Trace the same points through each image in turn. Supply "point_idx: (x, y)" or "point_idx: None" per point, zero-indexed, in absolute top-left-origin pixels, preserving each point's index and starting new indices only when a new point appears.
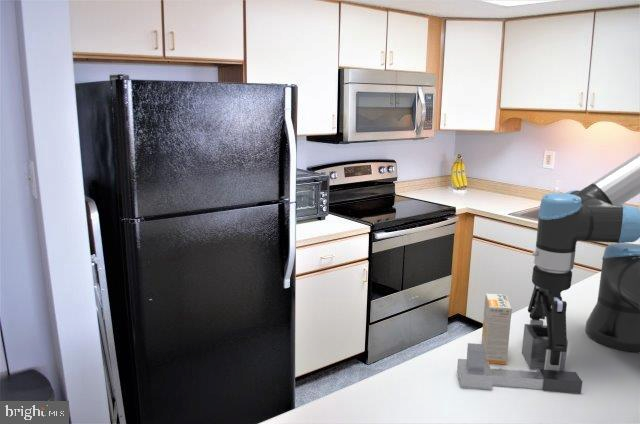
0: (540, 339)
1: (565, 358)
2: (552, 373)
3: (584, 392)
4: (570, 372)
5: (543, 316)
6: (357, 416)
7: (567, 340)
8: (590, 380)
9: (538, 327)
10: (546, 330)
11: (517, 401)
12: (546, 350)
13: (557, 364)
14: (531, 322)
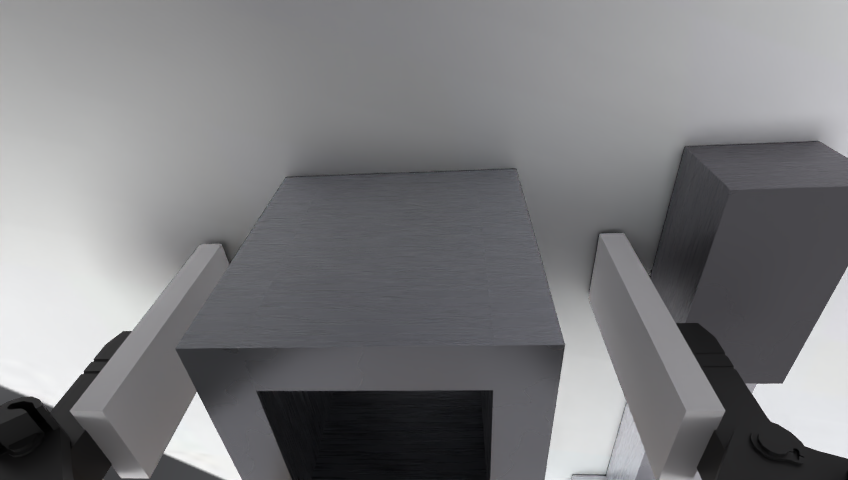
0: None
1: (531, 225)
2: (728, 337)
3: (807, 110)
4: (730, 230)
5: (12, 430)
6: None
7: (553, 347)
8: (644, 6)
9: (291, 476)
10: (282, 408)
11: (805, 423)
12: (644, 448)
13: (702, 335)
14: (155, 460)
